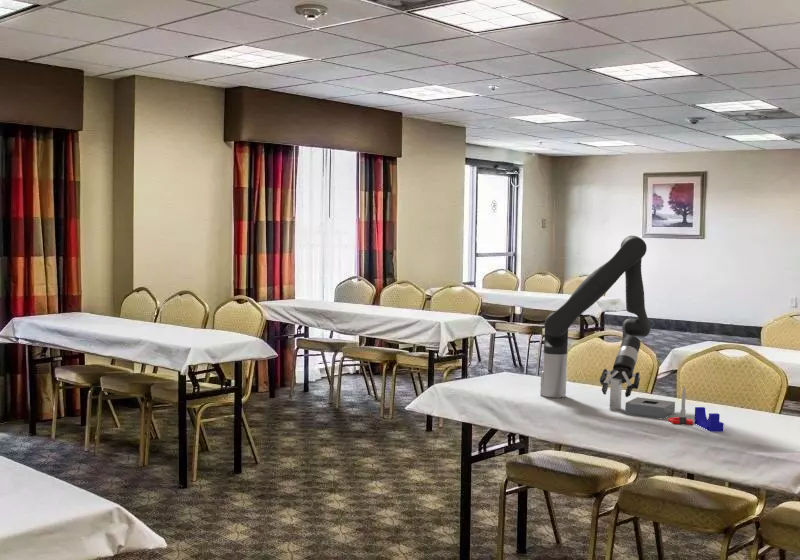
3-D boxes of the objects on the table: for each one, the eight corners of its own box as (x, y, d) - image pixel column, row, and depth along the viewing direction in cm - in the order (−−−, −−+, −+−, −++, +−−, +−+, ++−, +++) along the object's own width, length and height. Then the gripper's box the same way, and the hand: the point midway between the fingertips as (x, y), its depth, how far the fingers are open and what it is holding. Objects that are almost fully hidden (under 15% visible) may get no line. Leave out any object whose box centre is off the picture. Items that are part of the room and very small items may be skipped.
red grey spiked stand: (666, 419, 309) (670, 424, 300) (667, 383, 309) (671, 386, 300) (690, 421, 308) (695, 425, 299) (692, 384, 308) (697, 388, 298)
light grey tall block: (609, 408, 324) (610, 379, 323) (612, 407, 327) (613, 378, 326) (618, 409, 322) (619, 380, 321) (620, 408, 325) (621, 379, 324)
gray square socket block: (625, 413, 315) (625, 402, 315) (636, 407, 327) (637, 397, 327) (664, 419, 308) (664, 407, 308) (674, 412, 320) (675, 401, 319)
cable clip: (723, 432, 290) (723, 414, 290) (710, 432, 290) (711, 414, 289) (706, 424, 302) (707, 407, 302) (694, 424, 302) (695, 407, 301)
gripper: (605, 352, 334) (594, 386, 324) (642, 355, 326) (632, 390, 317) (609, 364, 338) (598, 398, 329) (646, 368, 331) (636, 402, 322)
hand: (615, 394), depth 323 cm, fingers open, 8 cm apart
